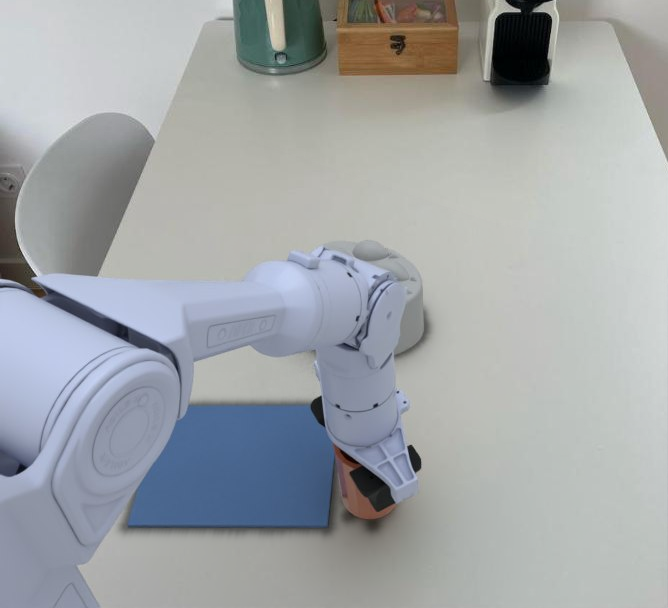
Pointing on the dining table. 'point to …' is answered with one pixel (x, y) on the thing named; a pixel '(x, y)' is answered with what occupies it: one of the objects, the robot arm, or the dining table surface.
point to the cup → (354, 488)
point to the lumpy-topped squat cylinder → (406, 276)
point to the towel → (240, 470)
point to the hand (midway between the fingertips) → (369, 478)
